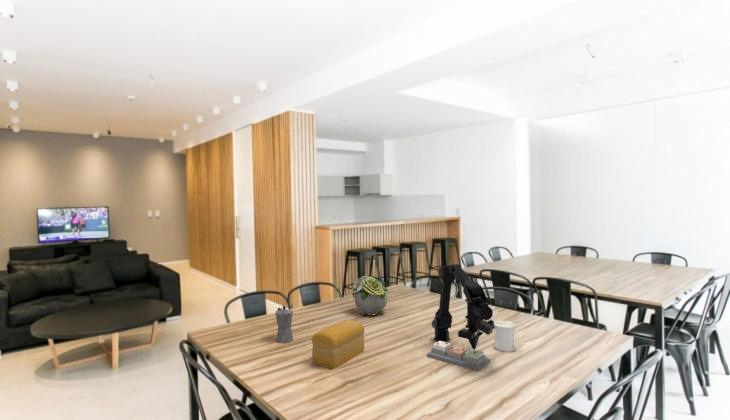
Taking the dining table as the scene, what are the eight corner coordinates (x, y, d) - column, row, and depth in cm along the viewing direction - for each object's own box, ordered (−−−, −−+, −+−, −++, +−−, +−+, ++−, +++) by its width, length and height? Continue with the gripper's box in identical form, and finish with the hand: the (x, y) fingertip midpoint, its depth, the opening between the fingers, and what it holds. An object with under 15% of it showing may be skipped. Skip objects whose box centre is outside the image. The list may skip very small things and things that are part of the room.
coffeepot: (298, 341, 204) (297, 307, 204) (280, 345, 199) (280, 310, 199) (286, 333, 217) (286, 301, 217) (270, 337, 212) (269, 304, 211)
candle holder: (501, 353, 185) (501, 328, 185) (489, 346, 194) (489, 321, 194) (519, 351, 187) (519, 325, 187) (507, 343, 197) (506, 320, 197)
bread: (343, 346, 197) (343, 316, 197) (365, 351, 190) (364, 320, 190) (311, 363, 177) (310, 330, 177) (334, 369, 170) (333, 335, 170)
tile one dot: (464, 358, 173) (464, 352, 173) (471, 354, 178) (471, 348, 177) (477, 361, 169) (477, 355, 169) (483, 357, 174) (483, 351, 174)
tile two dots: (433, 349, 184) (433, 343, 184) (440, 345, 188) (439, 340, 188) (444, 352, 180) (444, 346, 180) (451, 348, 184) (451, 343, 184)
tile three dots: (448, 356, 178) (448, 350, 178) (455, 352, 183) (455, 346, 183) (460, 359, 174) (460, 353, 174) (467, 355, 179) (467, 349, 179)
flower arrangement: (345, 311, 259) (345, 274, 259) (379, 306, 270) (379, 271, 269) (361, 321, 237) (360, 281, 236) (397, 316, 247) (397, 277, 247)
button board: (427, 356, 182) (427, 349, 182) (440, 349, 191) (440, 341, 191) (477, 371, 166) (477, 363, 166) (490, 362, 175) (489, 354, 175)
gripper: (482, 322, 161) (482, 360, 161) (500, 312, 175) (500, 347, 175) (457, 317, 168) (457, 353, 168) (476, 307, 182) (477, 341, 182)
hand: (474, 348), depth 173 cm, fingers closed
